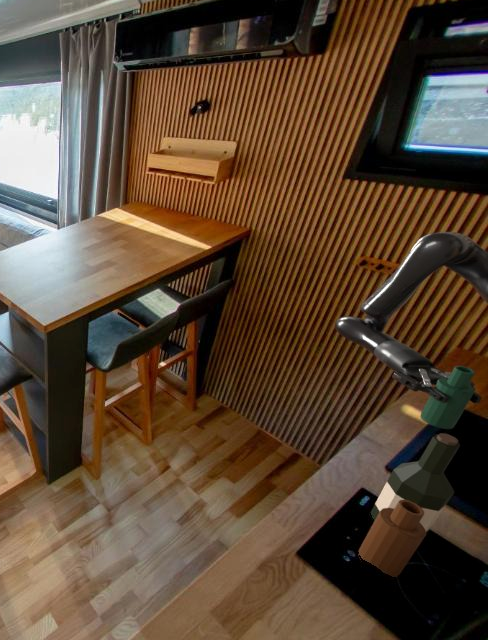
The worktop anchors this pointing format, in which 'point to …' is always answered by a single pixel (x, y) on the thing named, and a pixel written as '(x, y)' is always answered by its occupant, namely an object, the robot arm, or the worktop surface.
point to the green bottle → (450, 399)
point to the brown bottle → (394, 537)
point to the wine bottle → (422, 481)
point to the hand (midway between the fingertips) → (462, 400)
